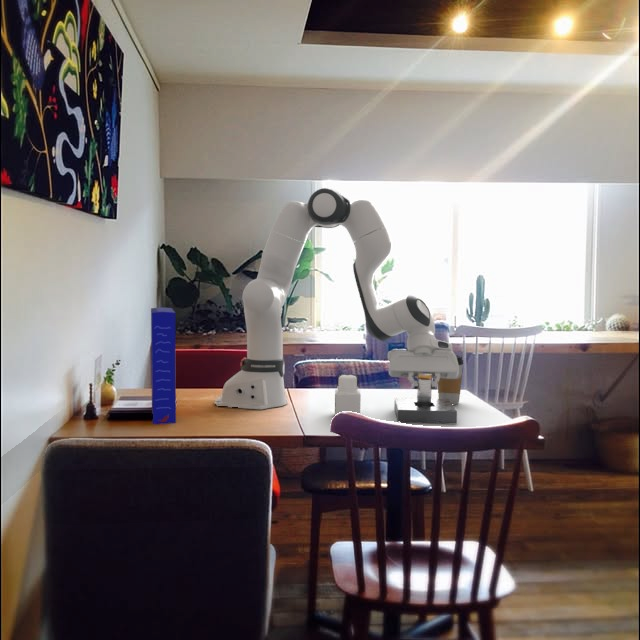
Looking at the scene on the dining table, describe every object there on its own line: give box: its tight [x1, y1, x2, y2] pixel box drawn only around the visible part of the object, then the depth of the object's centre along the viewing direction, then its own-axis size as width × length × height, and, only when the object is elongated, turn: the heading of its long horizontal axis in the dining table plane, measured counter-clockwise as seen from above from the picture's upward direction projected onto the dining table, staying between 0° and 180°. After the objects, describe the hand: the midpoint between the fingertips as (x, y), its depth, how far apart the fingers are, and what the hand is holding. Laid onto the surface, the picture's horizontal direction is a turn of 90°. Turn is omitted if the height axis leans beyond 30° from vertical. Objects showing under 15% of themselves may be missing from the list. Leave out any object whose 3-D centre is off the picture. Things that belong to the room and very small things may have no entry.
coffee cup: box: [437, 354, 464, 405], centre depth 194 cm, size 8×8×15 cm
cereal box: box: [150, 307, 177, 425], centre depth 172 cm, size 22×6×30 cm, turn 16°
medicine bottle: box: [334, 373, 362, 415], centre depth 174 cm, size 7×7×12 cm
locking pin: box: [416, 372, 433, 407], centre depth 174 cm, size 4×4×11 cm
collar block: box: [393, 397, 458, 424], centre depth 175 cm, size 16×16×4 cm
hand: (424, 388), depth 174 cm, fingers closed on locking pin, 4 cm apart
